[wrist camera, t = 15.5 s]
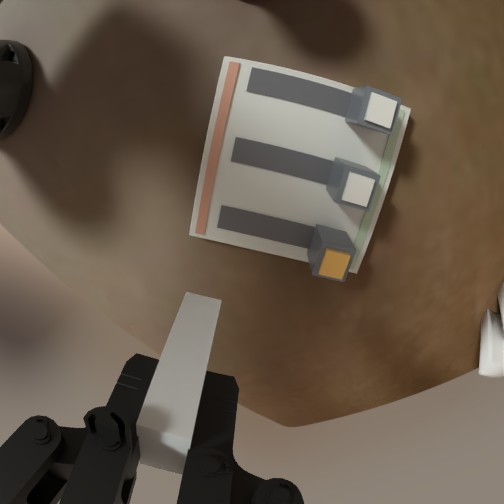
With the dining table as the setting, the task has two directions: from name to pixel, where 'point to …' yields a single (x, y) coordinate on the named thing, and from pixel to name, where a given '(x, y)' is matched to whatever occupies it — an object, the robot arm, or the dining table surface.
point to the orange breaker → (330, 253)
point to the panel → (294, 159)
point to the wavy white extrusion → (493, 340)
